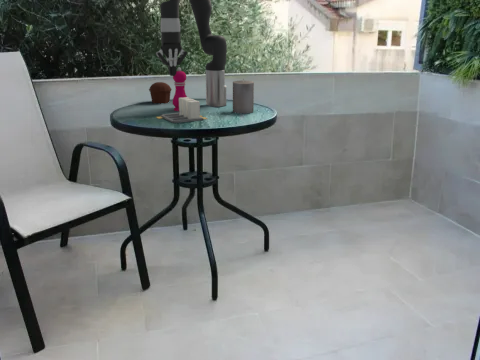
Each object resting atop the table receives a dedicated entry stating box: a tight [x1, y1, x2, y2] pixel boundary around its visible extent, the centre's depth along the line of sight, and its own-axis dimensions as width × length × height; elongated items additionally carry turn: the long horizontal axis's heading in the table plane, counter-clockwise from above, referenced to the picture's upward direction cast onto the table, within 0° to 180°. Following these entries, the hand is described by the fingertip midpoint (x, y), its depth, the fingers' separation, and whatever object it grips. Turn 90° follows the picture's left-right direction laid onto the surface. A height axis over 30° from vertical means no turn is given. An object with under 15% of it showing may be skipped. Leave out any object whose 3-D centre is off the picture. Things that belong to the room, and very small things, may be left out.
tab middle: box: [183, 98, 195, 117], centre depth 193 cm, size 4×3×8 cm
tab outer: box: [187, 99, 201, 119], centre depth 189 cm, size 4×3×8 cm
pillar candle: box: [232, 78, 255, 115], centre depth 211 cm, size 10×10×15 cm
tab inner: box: [178, 96, 191, 115], centre depth 197 cm, size 4×3×8 cm
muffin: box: [148, 81, 172, 104], centre depth 235 cm, size 12×11×10 cm
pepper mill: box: [172, 66, 188, 112], centre depth 208 cm, size 7×7×20 cm
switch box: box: [153, 112, 210, 124], centre depth 193 cm, size 20×15×2 cm
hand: (172, 75), depth 185 cm, fingers closed
